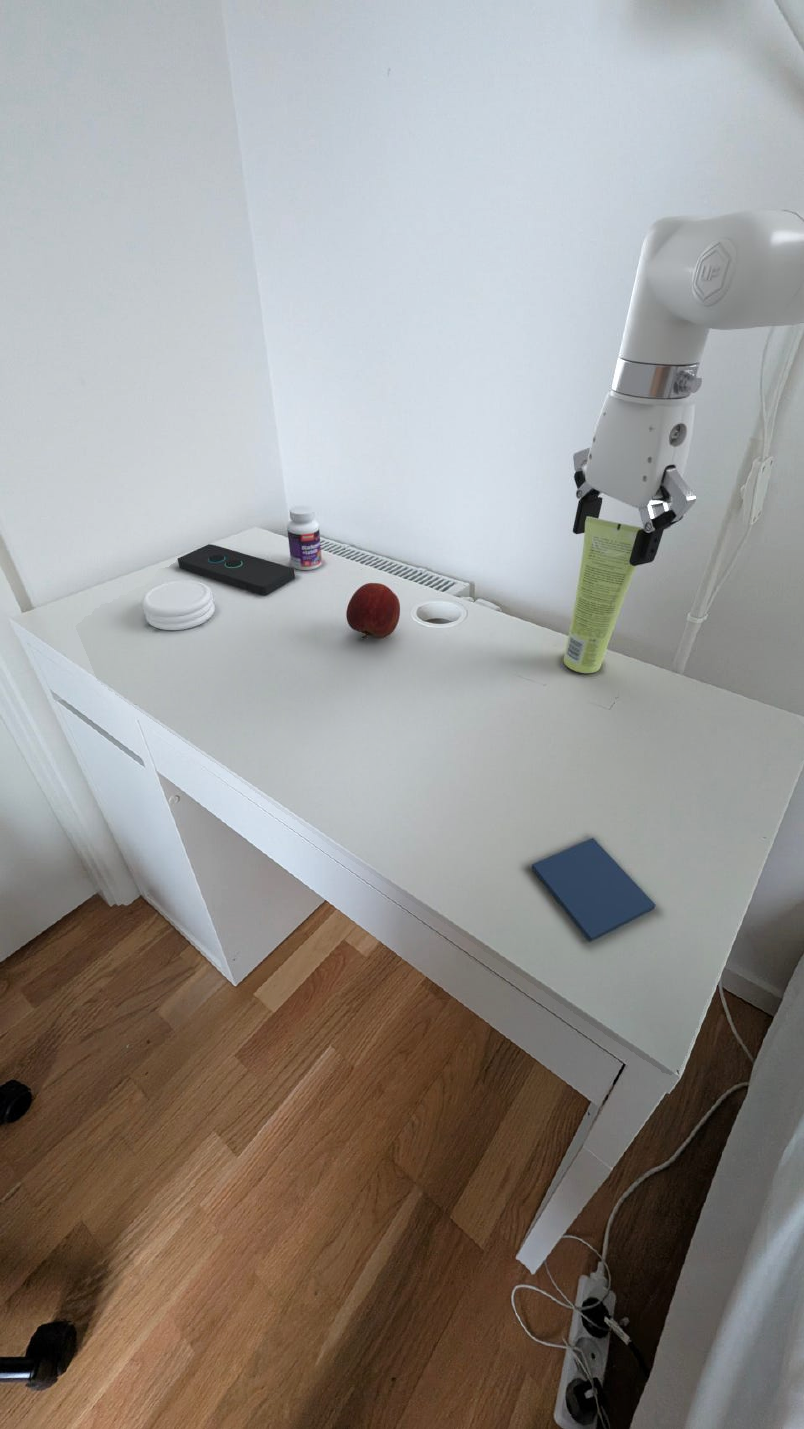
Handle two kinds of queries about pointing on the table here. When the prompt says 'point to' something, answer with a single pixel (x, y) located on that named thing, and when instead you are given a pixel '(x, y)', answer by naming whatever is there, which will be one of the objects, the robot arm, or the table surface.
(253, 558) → the smart home device
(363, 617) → the apple
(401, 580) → the table surface
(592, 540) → the tube
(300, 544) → the pill bottle
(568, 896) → the mat
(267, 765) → the table surface
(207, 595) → the coaster
